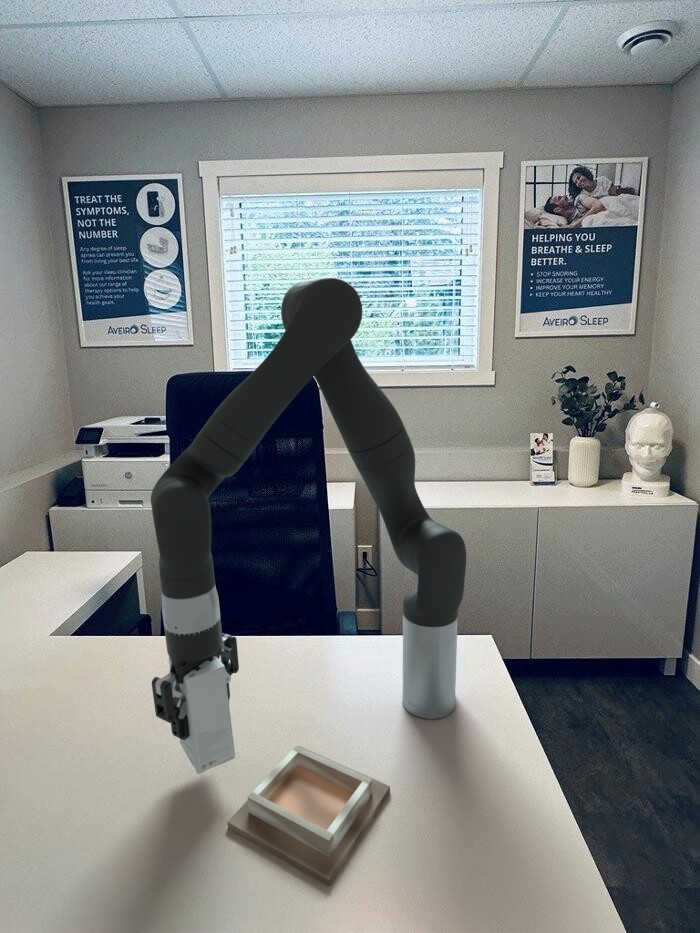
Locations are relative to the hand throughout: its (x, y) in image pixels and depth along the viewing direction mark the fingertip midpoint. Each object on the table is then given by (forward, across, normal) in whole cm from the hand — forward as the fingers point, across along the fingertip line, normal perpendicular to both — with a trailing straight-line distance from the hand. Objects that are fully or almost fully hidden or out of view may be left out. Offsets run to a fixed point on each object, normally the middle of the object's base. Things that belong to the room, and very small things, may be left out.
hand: (203, 719), depth 80 cm
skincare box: (+5, 0, 0) cm, 5 cm away
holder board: (+10, +3, -17) cm, 20 cm away
